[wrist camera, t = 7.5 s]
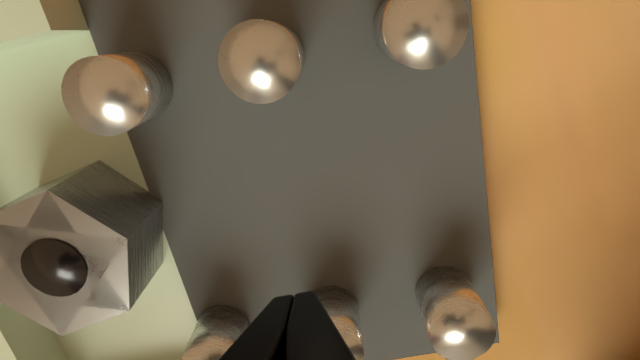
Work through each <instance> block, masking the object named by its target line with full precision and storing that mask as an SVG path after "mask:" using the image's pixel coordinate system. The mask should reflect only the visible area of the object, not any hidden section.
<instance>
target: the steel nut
mask: <svg viewBox="0 0 640 360" xmlns="http://www.w3.org/2000/svg"><path fill="white" fill-rule="evenodd" d="M162 263H163V200H161V199H159V198H158V197H156V196H155V195H153V194H152V193H150V192H149V191H147V190H145V189H144V188H142V187H141V186H139V185H138V184H136V183H135V182H133V181H131V180H130V179H128V178H127V177H125V176H124V175H122V174H121V173H119V172H117V171H116V170H114V169H113V168H111V167H110V166H108V165H107V164H105V163H103V162H102V161H100V160H98V161H96V162H93V163H91V164H89V165H87V166H84V167H82V168H80V169H77V170H75V171H73V172H71V173H68V174H66V175H64V176H61V177H59V178H57V179H55V180H52V181H50V182H48V183H45V184H43V185H41V186H39V187H37V188H35V189H33V190H31V191H30V192H28V193H26V194H24V195H22V196H20V197H19V198H17V199H15V200H13V201H11V202H9V203H8V204H6V205H4V206H2V207H0V303H2V304H4V305H5V306H7V307H9V308H11V309H13V310H15V311H17V312H18V313H20V314H22V315H24V316H26V317H28V318H29V319H31V320H33V321H35V322H37V323H39V324H40V325H42V326H44V327H46V328H48V329H50V330H52V331H53V332H55V333H57V334H59V335H61V336H64V335H66V334H69V333H72V332H74V331H77V330H80V329H82V328H85V327H88V326H90V325H93V324H96V323H98V322H101V321H104V320H106V319H109V318H112V317H114V316H117V315H120V314H122V313H125V312H128V311H130V309H131V308H132V307H133V305H134V304H135V302H136V301H137V299H138V298H139V296H140V295H141V294H142V292H143V291H144V289H145V288H146V286H147V285H148V283H149V282H150V281H151V279H152V278H153V276H154V275H155V273H156V272H157V271H158V269H159V268H160V266H161V265H162Z"/></svg>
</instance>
